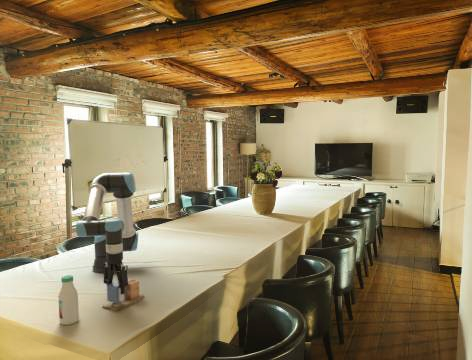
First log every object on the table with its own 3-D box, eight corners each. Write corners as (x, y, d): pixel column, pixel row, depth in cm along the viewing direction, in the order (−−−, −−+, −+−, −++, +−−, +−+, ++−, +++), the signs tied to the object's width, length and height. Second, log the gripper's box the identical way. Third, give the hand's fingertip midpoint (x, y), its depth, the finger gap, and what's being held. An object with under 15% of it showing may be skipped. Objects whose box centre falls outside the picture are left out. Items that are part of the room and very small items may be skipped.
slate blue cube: (107, 300, 169) (106, 285, 168) (116, 296, 174) (115, 281, 173) (116, 303, 166) (116, 287, 166) (125, 298, 171) (124, 282, 171)
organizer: (102, 307, 169) (101, 289, 168) (129, 294, 185) (128, 277, 184) (118, 311, 164) (117, 292, 164) (144, 297, 181) (143, 279, 180)
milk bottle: (81, 316, 160) (79, 273, 158) (74, 325, 152) (72, 279, 150) (64, 317, 159) (62, 274, 158) (56, 325, 152) (54, 280, 150)
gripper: (93, 251, 169) (95, 298, 170) (124, 256, 161) (125, 305, 162) (105, 247, 175) (107, 293, 177) (135, 252, 167) (137, 299, 169)
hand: (116, 299), depth 170 cm, fingers closed on slate blue cube, 6 cm apart
